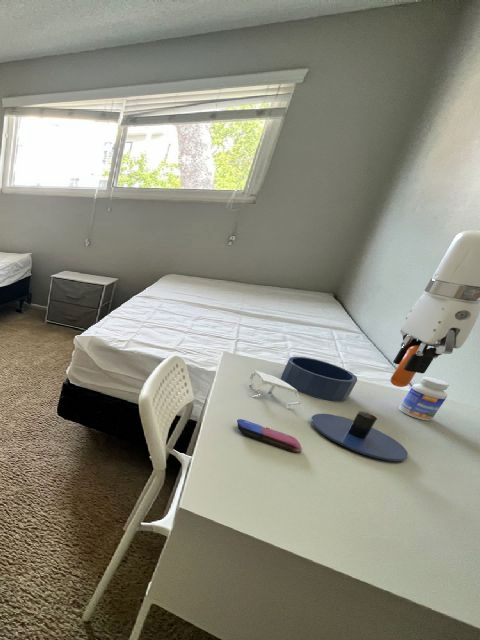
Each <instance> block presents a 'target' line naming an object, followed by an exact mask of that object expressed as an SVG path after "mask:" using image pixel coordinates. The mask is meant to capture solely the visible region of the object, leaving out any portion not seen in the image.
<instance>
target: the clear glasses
mask: <svg viewBox="0 0 480 640" xmlns="http://www.w3.org/2000/svg"><path fill="white" fill-rule="evenodd" d="M255 376H257V377H258V378H259V379H260V380H261V383H259V384H257V385H255V386H254V380H253V378H255ZM249 380H250V383H251V384H249V387H252V390H254V392H256V393H257V394H254V395H252V397H253V398H261V397H263V396H264V394H263V393H262V392H261V391H260V389H262V388H263V387H265V386H267V385H270V387H269V389H268V391H267V392H268V394H272V392H273V391H274V389H275V388H280V389H283V390H286V391H290V392H293V393H294V394H295V398H296V401H297V402H288V403H287V404H286V406H285V408H286V409H288V410H289V409H290V407H291V405H292V406H293V405H294V406H295V405H302V401H301V397H300V394H299V391H297V390H296V389H295V388H293V387H292V386H291V385H289V384H288V383H286V382H284V381H282V380H281V378H279V377H277V376H274V375H271V374H268V373H264V372H262V371H259V370H256V369H254V370H253V372H252V373H251V375H250V377H249Z"/></svg>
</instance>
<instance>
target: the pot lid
mask: <svg viewBox="0 0 480 640" xmlns="http://www.w3.org/2000/svg"><path fill="white" fill-rule="evenodd" d="M377 420H378V418H377V417H376V416H375V415H373V414H371V413H369V412H366V411H357V413H356V415H355V416H354V419H351V418H347V417H344V416H340V415H337V414H336V415H335V414H329V413H316V414H313V415H311V417H310V423H311V425H312V427H314V428H315V430H317V432H319V433H320V434H321V435H323V436H324V437H326V438H328V439H329V440H331V441H333V442H334V443H337V444H338V445H341V446H342V447H344V448H346V449H349V450H351V451H354V452H356V453H360V454H362V455H364V456H368V457H370V458H375V459H379V460H383V461H390V462H400V461H401V462H402V461H405V460H406V459H407V458H408V457H409V453H408V451H407V449H406V448H405V447H404V445H402V444H401V443H400V442H399V441H397V440H396V439H394V438H393V437H391V436H390V435H388V434H386V433H384V432H383V431H381V430H378V429H377V428H375V427H374V425H375V424H376V423H377Z"/></svg>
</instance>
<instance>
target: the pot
mask: <svg viewBox="0 0 480 640" xmlns="http://www.w3.org/2000/svg"><path fill="white" fill-rule="evenodd" d="M280 380H282V381H284V382H286V383H288V384H289V385H291V386H292V387H293V388H295V389H296V390H297V391H298V392H300V393H302V394H305V395H307V396H310V397H314V398H318V399H320V400H325V401H330V402H345V401H346V400H347V399H348V398H349V397H350V395H351V393H352V391H353V389H354V387H355V385H356V384H357V382H358V376H357V375H355V374H354V373H353V372H351V371H350V370H347V369H345V368H343V367H341V366H338V365H335V364H332V363H330V362H327V361H323V360H320V359H316V358H311V357H306V356H292V357H289V358H288V360H287V362H286V365H285V367H284V369H283V371H282V373H281V376H280Z"/></svg>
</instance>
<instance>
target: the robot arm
mask: <svg viewBox="0 0 480 640" xmlns="http://www.w3.org/2000/svg"><path fill="white" fill-rule="evenodd" d="M422 293H423V294H421V296H420V297H419V298H418V299H417V300H416V302H415V303H414V305H413V306H412V307H411V309H410V311H409V312H408V314H407V315H406V317H405V319H404V320H403V322H402V325H401V328H400V334H401V336H402V342H401V343H400V349H399V351H398V353H397V354H396V356H395V357H394V359H393V362H392V363H393V364H395V365H399V364H400V362H401V360H402V359H403V357H404V355H405V354H406V352H407V350H408V349H409V348H410V347H412V346H419V348H418V350H417V352H416V354H412V355H411V357H410V359H409V360H408V362H407V364H406V365H405V367H404V369H405V370H406V371H411V372H416V373H418V374H425V373H426V372H427V370H428V368H429V367H430V365H431V364H432V362H433V360H434V359H437V358H438V357H439V356H441V355H451V354H453V352H454V349H460V348H461V347H463V346H464V344H465V343H466V341H467V340H468V338H469V336H470V334H471V332H472V330H473V329H474V326H475V325H476V322H477V320H478V318H479V316H480V230H477V229H475V230H474V229H469V230H468V229H467V230H463V231H461V232H459V233H457V234H456V235H455V237H454V238H453V240H452V241H451V243H450V245H449V247H448V248H447V250H446V252H445V254H444V256H443V257H442V259H441V261H440V262H439V264H438V266H437V267H436V270H435V271H434V273H433V275H432V276H431V278H430V280H429V282H428V283H427V285H426V287H425V289H424V290H423V291H422Z"/></svg>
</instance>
